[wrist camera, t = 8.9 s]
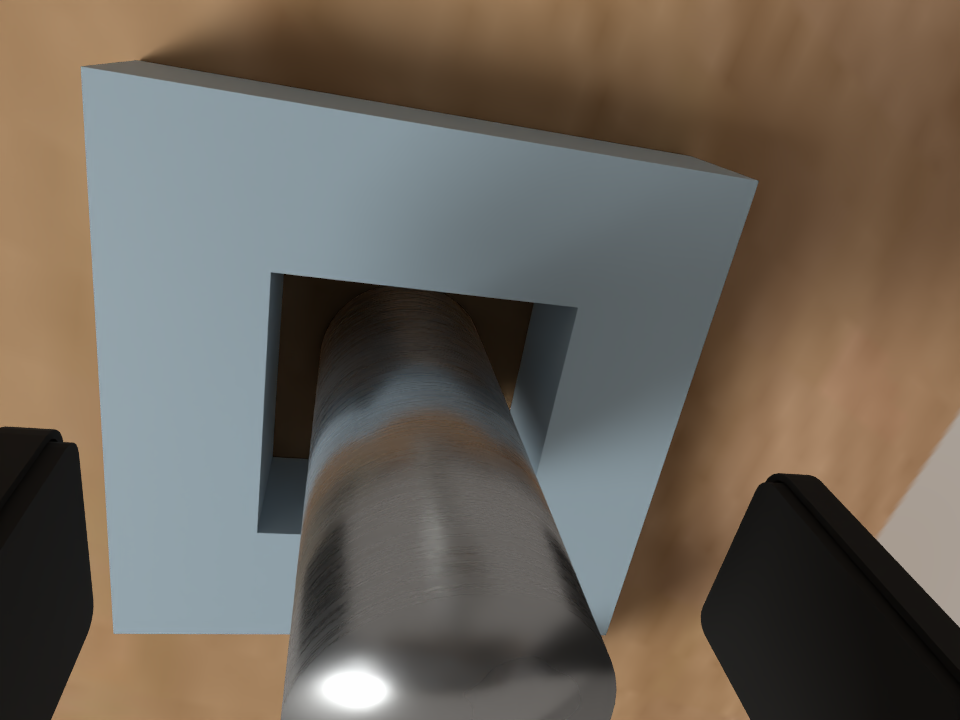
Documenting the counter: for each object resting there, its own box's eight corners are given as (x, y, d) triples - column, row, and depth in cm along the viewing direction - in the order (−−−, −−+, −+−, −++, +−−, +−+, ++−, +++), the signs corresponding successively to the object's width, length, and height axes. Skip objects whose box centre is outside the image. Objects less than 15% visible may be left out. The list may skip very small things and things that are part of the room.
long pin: (327, 274, 16) (290, 593, 7) (494, 293, 17) (655, 597, 8) (314, 423, 17) (271, 837, 8) (467, 433, 18) (573, 817, 9)
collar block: (137, 59, 13) (80, 66, 11) (691, 156, 16) (758, 181, 13) (149, 544, 18) (113, 633, 15) (574, 557, 21) (605, 634, 18)
